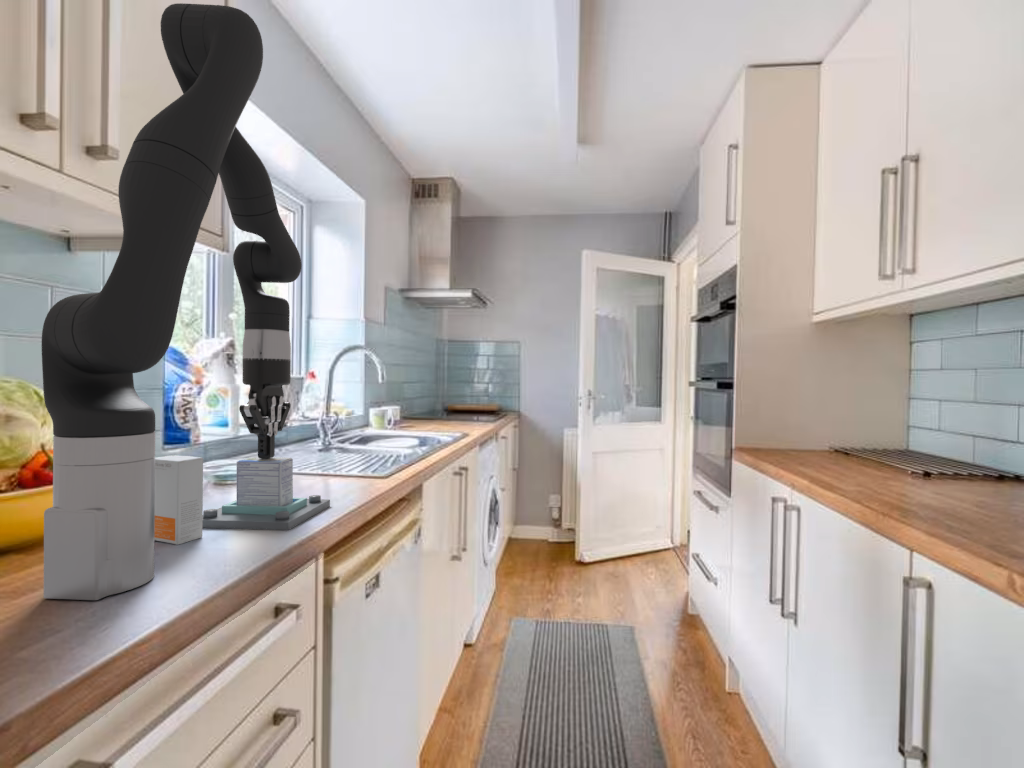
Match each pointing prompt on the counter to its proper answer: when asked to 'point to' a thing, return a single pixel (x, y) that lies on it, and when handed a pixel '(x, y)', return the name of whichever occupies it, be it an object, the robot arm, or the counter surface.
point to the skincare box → (178, 498)
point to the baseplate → (264, 514)
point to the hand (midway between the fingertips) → (266, 457)
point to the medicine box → (265, 481)
